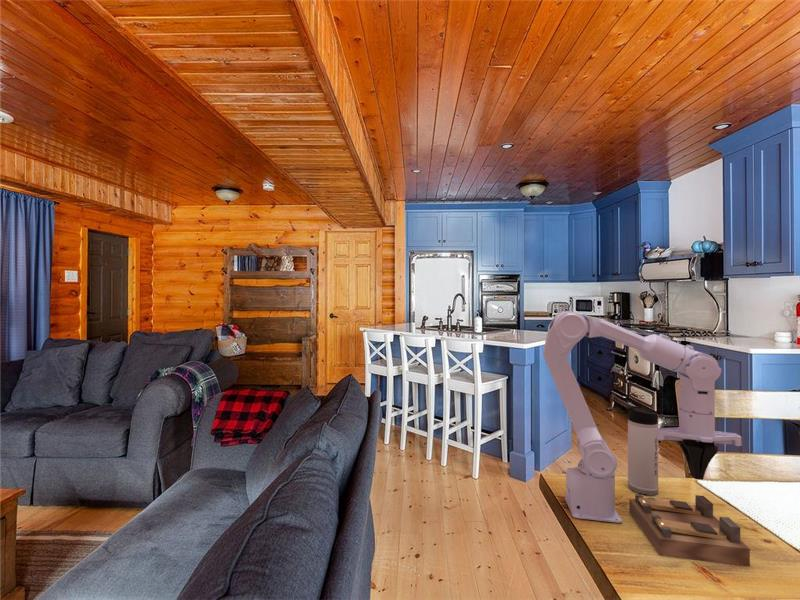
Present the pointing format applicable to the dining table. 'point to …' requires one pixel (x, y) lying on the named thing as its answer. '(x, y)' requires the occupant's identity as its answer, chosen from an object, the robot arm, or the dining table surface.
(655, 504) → the far strap
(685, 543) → the brown strap fixture board
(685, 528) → the near strap
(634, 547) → the dining table surface
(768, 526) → the dining table surface
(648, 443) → the travel mug
